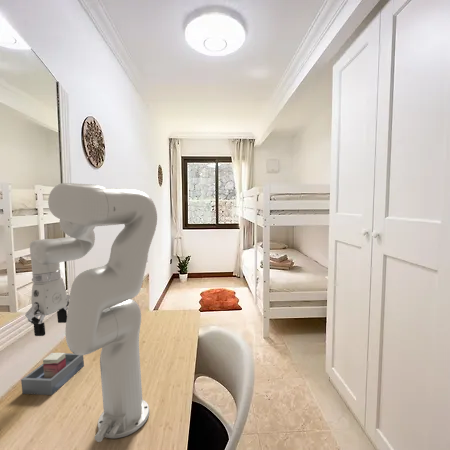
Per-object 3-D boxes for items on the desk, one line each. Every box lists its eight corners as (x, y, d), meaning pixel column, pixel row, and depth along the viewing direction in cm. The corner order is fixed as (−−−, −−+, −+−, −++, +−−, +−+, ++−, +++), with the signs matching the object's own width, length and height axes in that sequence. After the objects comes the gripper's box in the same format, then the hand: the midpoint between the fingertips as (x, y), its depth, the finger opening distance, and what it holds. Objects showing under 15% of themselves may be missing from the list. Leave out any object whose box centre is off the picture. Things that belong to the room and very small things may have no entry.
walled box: (52, 395, 80) (50, 380, 80) (22, 393, 82) (21, 379, 81) (84, 365, 95) (83, 353, 95) (58, 365, 96) (57, 353, 96)
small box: (44, 383, 86) (41, 359, 86) (53, 374, 91) (51, 352, 90) (58, 383, 86) (56, 359, 86) (67, 374, 90) (65, 352, 90)
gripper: (35, 284, 77) (41, 341, 78) (75, 270, 95) (80, 318, 95) (12, 284, 78) (18, 341, 79) (56, 271, 95) (60, 318, 96)
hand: (52, 328), depth 87 cm, fingers open, 9 cm apart
